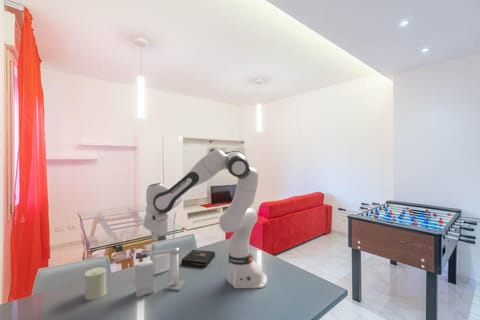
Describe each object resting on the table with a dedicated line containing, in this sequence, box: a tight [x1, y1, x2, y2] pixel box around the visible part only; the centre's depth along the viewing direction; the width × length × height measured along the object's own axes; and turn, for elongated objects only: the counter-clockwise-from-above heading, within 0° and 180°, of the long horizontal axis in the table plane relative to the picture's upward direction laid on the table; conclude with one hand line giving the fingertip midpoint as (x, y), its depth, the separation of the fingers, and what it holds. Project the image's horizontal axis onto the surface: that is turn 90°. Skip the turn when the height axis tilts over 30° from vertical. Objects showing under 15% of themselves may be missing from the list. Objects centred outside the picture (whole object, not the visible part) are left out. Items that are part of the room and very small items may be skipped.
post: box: [164, 253, 187, 292], centre depth 119 cm, size 8×8×18 cm
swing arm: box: [135, 246, 180, 260], centre depth 116 cm, size 21×5×2 cm, turn 111°
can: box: [84, 266, 108, 301], centre depth 112 cm, size 9×9×12 cm
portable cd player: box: [181, 249, 216, 269], centre depth 149 cm, size 16×17×4 cm
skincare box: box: [134, 259, 155, 298], centre depth 114 cm, size 8×6×15 cm
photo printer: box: [151, 253, 171, 276], centre depth 135 cm, size 10×4×12 cm, turn 134°
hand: (155, 239), depth 119 cm, fingers closed
